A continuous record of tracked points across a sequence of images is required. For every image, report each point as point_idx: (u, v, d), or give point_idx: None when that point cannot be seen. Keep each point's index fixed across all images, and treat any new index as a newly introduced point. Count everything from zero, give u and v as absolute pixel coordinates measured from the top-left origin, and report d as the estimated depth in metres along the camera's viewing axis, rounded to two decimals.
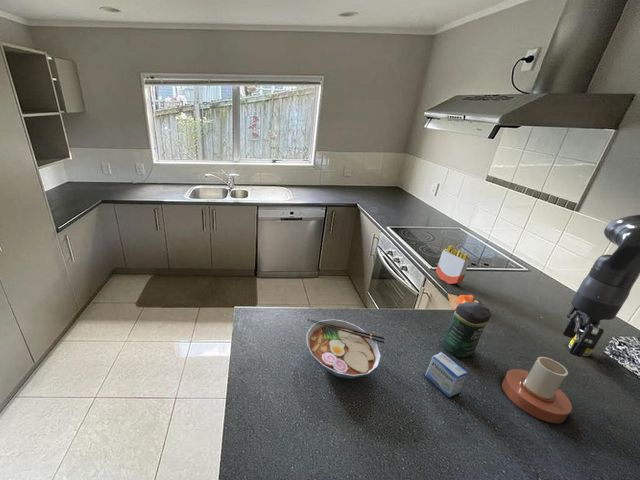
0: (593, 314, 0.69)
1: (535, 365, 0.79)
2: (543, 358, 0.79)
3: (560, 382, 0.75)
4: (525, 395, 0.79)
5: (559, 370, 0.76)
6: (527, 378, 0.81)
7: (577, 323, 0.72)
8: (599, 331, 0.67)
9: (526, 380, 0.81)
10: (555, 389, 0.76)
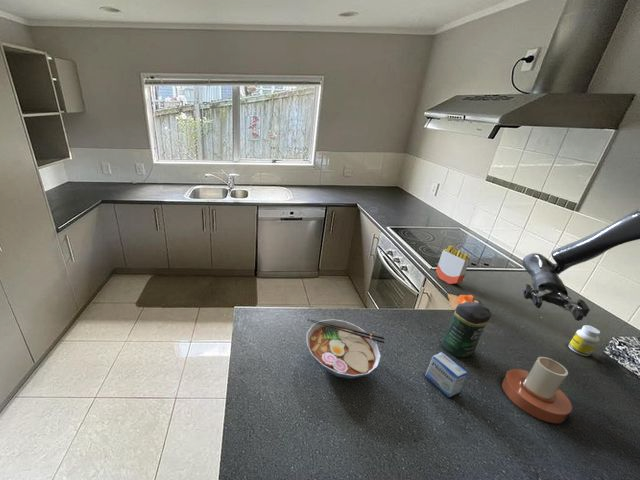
0: (535, 289, 0.95)
1: (535, 365, 0.79)
2: (543, 358, 0.79)
3: (560, 382, 0.75)
4: (525, 395, 0.79)
5: (559, 370, 0.76)
6: (527, 378, 0.81)
7: None
8: None
9: (526, 380, 0.81)
10: (555, 389, 0.76)
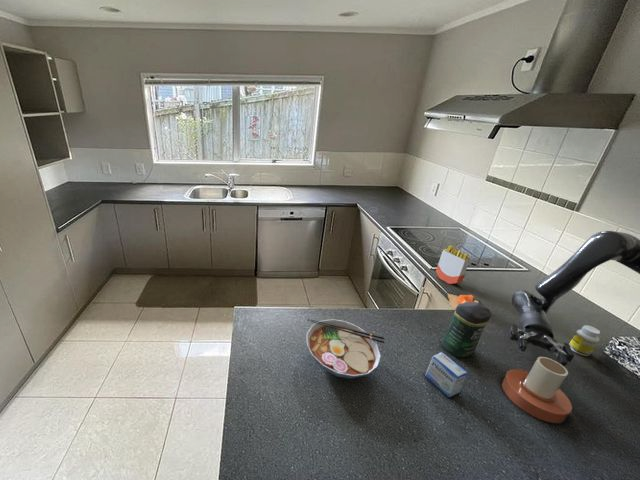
0: (521, 329, 0.95)
1: (535, 365, 0.79)
2: (543, 358, 0.79)
3: (560, 382, 0.75)
4: (525, 395, 0.79)
5: (559, 370, 0.76)
6: (527, 378, 0.81)
7: None
8: None
9: (526, 380, 0.81)
10: (555, 389, 0.76)
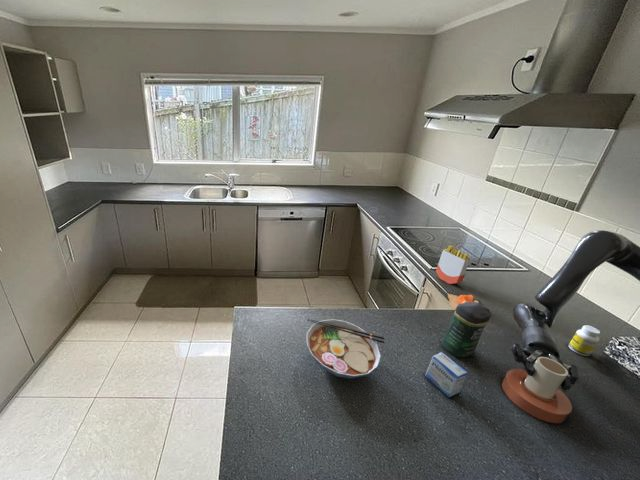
0: (524, 346, 0.88)
1: (535, 365, 0.79)
2: (543, 358, 0.79)
3: (560, 382, 0.75)
4: (525, 395, 0.79)
5: (559, 370, 0.76)
6: (527, 378, 0.81)
7: None
8: (514, 344, 0.87)
9: (526, 380, 0.81)
10: (555, 389, 0.76)
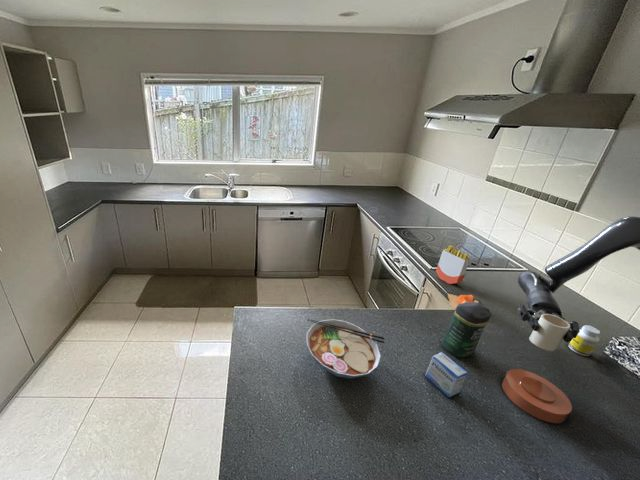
0: (529, 308, 0.95)
1: (539, 321, 0.85)
2: (547, 315, 0.86)
3: (563, 335, 0.81)
4: (525, 395, 0.79)
5: (562, 324, 0.82)
6: (532, 334, 0.87)
7: None
8: (519, 306, 0.94)
9: (531, 336, 0.88)
10: (558, 342, 0.82)
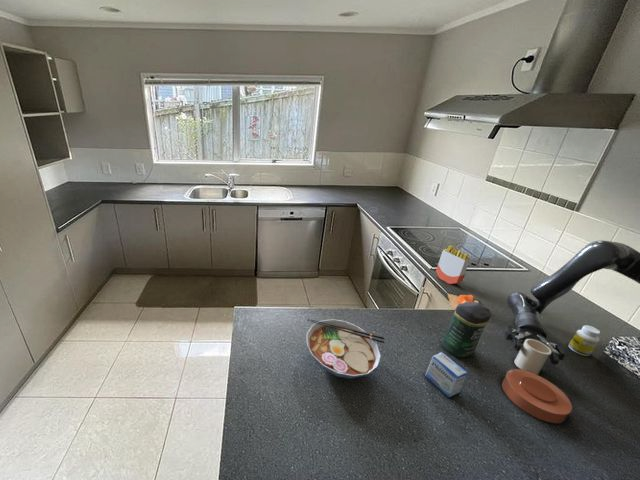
0: (516, 329, 1.00)
1: (523, 346, 0.91)
2: (530, 340, 0.91)
3: (544, 360, 0.87)
4: (525, 395, 0.79)
5: (543, 350, 0.88)
6: (516, 358, 0.93)
7: None
8: (507, 326, 0.99)
9: (516, 359, 0.93)
10: (540, 366, 0.88)
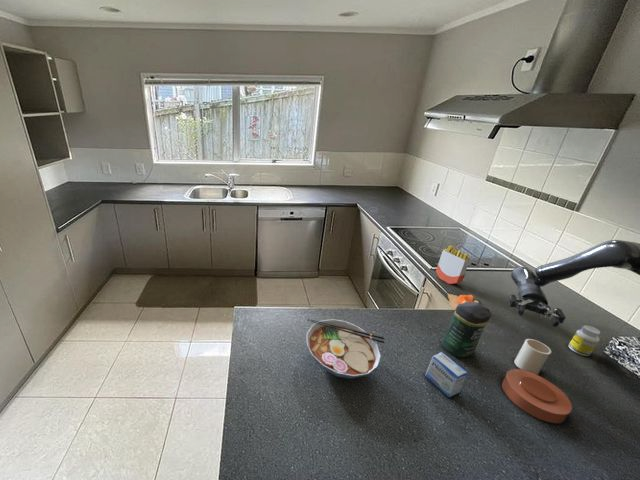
0: (519, 298, 1.07)
1: (523, 346, 0.91)
2: (530, 340, 0.91)
3: (544, 360, 0.87)
4: (525, 395, 0.79)
5: (543, 350, 0.88)
6: (516, 358, 0.93)
7: None
8: (511, 295, 1.07)
9: (516, 359, 0.93)
10: (540, 366, 0.88)
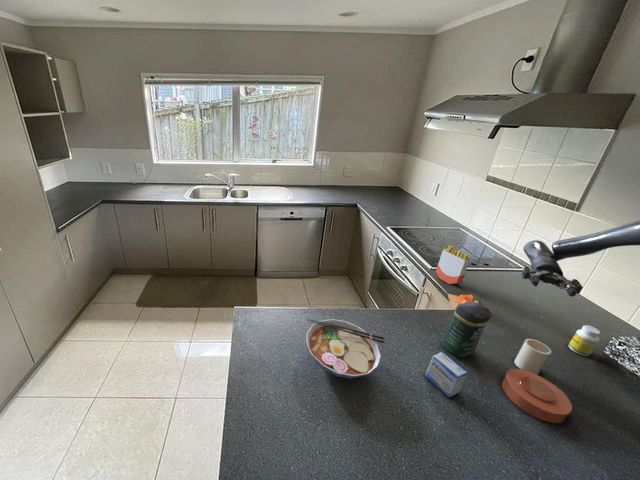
0: (533, 271, 1.03)
1: (523, 346, 0.91)
2: (530, 340, 0.91)
3: (544, 360, 0.87)
4: (525, 395, 0.79)
5: (543, 350, 0.88)
6: (516, 358, 0.93)
7: None
8: (524, 267, 1.02)
9: (516, 359, 0.93)
10: (540, 366, 0.88)
